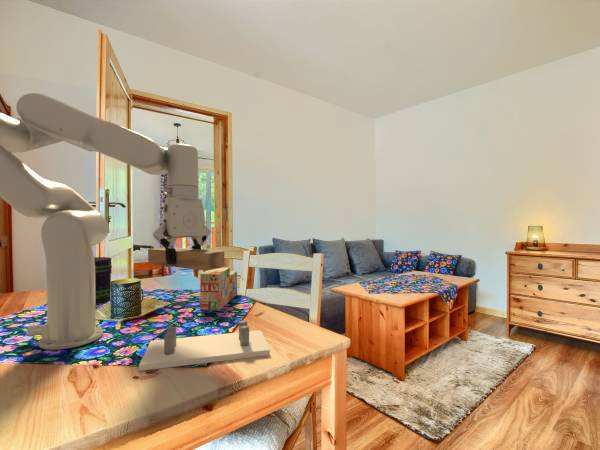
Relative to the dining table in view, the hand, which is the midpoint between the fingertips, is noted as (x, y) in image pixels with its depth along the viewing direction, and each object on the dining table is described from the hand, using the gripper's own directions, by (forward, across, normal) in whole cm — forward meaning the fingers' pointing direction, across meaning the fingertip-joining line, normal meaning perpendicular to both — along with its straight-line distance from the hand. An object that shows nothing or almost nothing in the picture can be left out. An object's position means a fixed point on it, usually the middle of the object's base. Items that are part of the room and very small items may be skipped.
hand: (184, 261), depth 79 cm
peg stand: (+19, -3, -14) cm, 23 cm away
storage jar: (+18, -4, +52) cm, 55 cm away
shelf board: (+1, 0, 0) cm, 1 cm away
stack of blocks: (+19, +24, +17) cm, 35 cm away
